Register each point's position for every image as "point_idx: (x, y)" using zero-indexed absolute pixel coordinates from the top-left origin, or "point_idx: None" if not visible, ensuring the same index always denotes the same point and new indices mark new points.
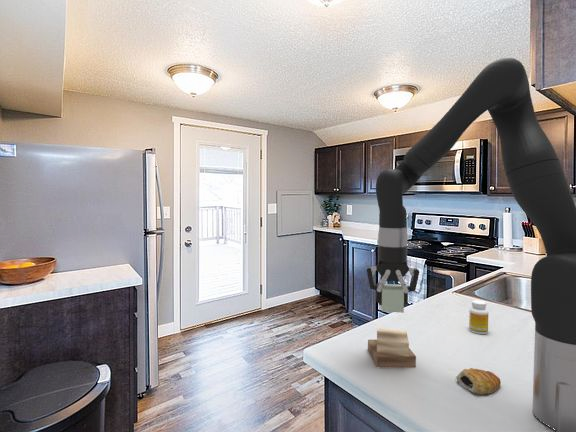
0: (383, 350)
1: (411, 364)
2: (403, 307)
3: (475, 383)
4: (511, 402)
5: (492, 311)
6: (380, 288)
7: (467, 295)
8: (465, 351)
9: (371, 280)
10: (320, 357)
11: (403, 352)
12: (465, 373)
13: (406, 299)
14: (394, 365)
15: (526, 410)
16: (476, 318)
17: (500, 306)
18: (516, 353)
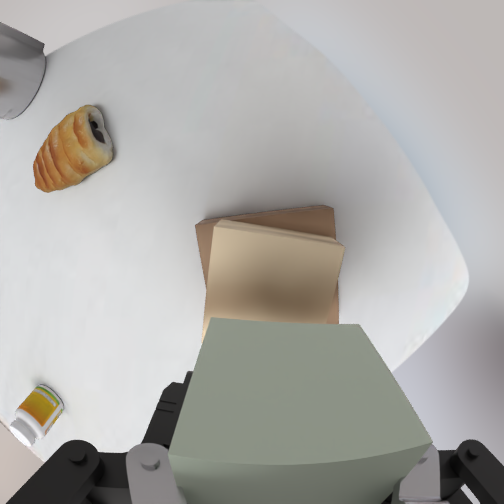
0: (310, 234)
1: (214, 219)
2: (207, 336)
3: (83, 108)
4: (51, 105)
5: (43, 446)
6: (416, 467)
7: None
8: (68, 318)
9: (501, 489)
10: (455, 251)
11: (238, 224)
12: (86, 129)
13: (167, 410)
14: (270, 211)
15: (44, 89)
16: (36, 409)
17: (38, 454)
18: (2, 307)
